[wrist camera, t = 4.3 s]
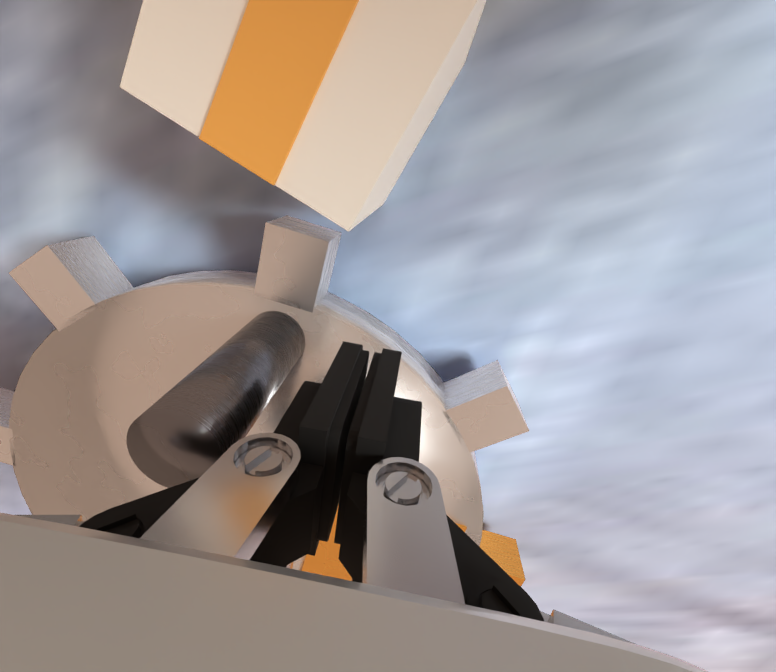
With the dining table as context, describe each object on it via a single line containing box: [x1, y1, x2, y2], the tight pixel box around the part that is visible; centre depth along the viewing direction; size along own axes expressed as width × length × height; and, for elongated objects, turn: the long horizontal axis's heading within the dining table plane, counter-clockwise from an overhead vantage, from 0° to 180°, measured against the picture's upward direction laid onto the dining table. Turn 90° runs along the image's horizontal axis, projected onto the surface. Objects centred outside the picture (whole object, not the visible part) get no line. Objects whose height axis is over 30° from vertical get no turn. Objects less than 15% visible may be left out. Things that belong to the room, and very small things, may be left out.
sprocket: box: [0, 215, 529, 587], centre depth 15 cm, size 24×24×8 cm
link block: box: [120, 0, 486, 232], centre depth 10 cm, size 5×5×7 cm
